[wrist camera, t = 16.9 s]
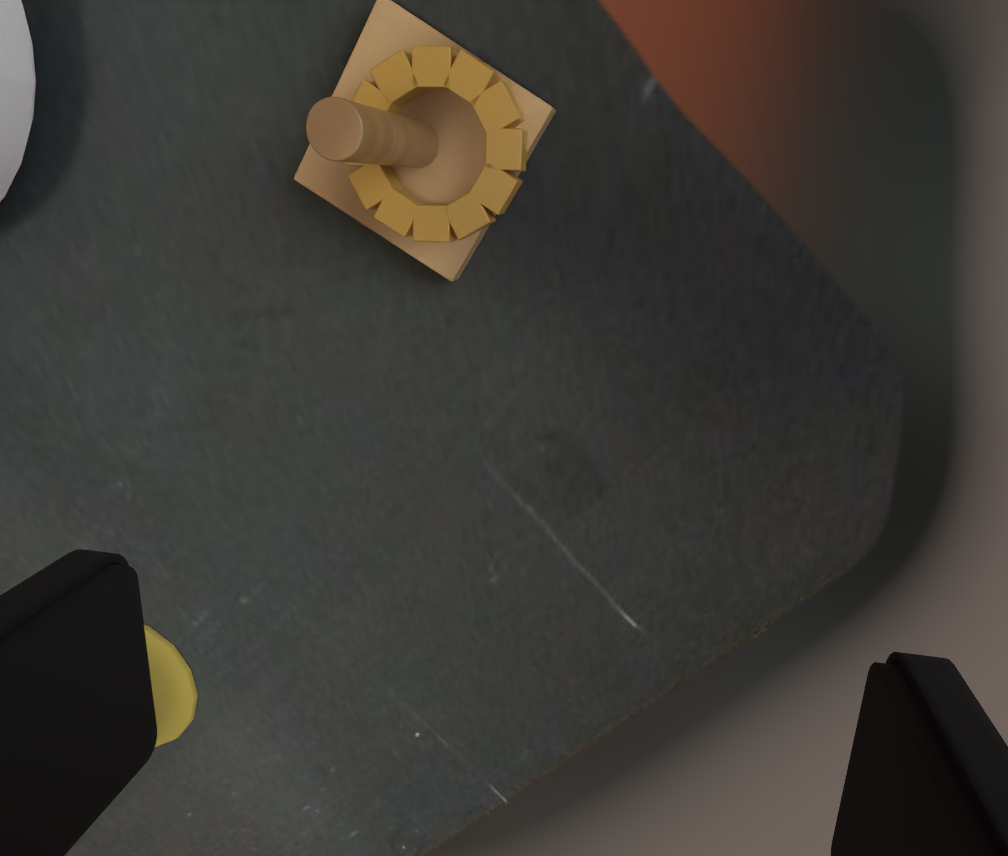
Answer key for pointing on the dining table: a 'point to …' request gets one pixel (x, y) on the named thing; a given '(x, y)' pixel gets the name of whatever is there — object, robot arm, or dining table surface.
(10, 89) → the bowl
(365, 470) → the dining table surface
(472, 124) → the peg stand
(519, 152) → the ring
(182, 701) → the candle
